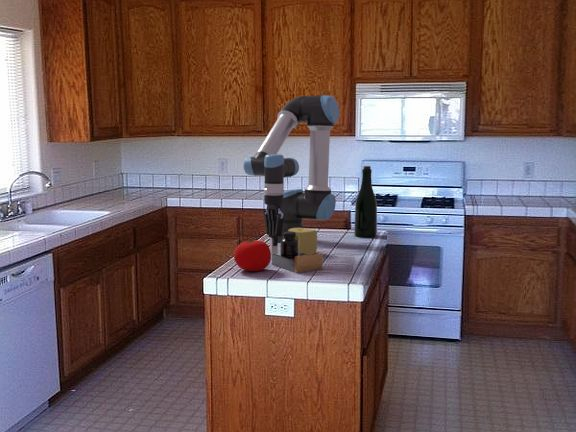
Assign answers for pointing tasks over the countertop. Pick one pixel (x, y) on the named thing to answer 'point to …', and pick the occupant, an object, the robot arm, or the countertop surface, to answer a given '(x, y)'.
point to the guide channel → (299, 262)
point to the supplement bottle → (289, 245)
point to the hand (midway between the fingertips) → (273, 253)
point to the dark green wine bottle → (366, 207)
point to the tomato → (252, 255)
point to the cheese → (306, 240)
